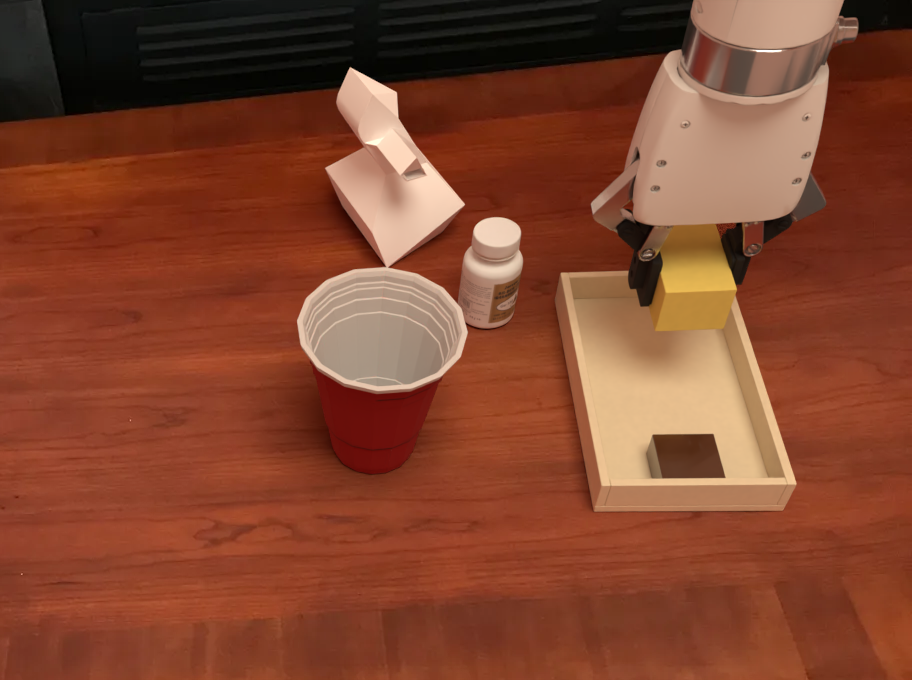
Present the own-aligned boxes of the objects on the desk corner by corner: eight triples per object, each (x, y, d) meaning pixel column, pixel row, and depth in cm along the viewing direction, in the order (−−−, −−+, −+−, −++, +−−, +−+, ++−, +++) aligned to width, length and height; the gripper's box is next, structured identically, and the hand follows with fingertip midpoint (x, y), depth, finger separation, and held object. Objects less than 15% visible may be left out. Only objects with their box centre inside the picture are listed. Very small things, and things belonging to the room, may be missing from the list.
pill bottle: (503, 336, 88) (516, 256, 82) (448, 321, 89) (458, 241, 83) (521, 301, 90) (536, 220, 84) (468, 287, 92) (479, 206, 85)
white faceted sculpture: (398, 160, 102) (408, 12, 91) (473, 252, 94) (492, 100, 83) (311, 186, 101) (310, 39, 90) (378, 281, 93) (386, 131, 82)
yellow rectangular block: (702, 261, 82) (715, 221, 79) (723, 329, 77) (737, 289, 75) (637, 264, 82) (647, 224, 79) (654, 331, 78) (665, 292, 75)
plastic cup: (369, 530, 78) (376, 409, 68) (269, 441, 84) (262, 318, 74) (484, 451, 81) (505, 325, 72) (380, 370, 87) (387, 243, 77)
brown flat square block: (705, 452, 78) (713, 433, 77) (718, 498, 76) (726, 478, 75) (645, 453, 79) (652, 433, 77) (655, 498, 77) (662, 479, 75)
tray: (716, 296, 88) (726, 267, 86) (783, 511, 76) (797, 484, 73) (554, 300, 90) (560, 272, 88) (593, 512, 77) (601, 485, 75)
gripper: (892, -1, 66) (795, 251, 81) (590, 21, 68) (548, 262, 83) (934, 71, 62) (823, 324, 76) (609, 92, 64) (561, 334, 78)
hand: (681, 289), depth 79 cm, fingers closed on yellow rectangular block, 4 cm apart
